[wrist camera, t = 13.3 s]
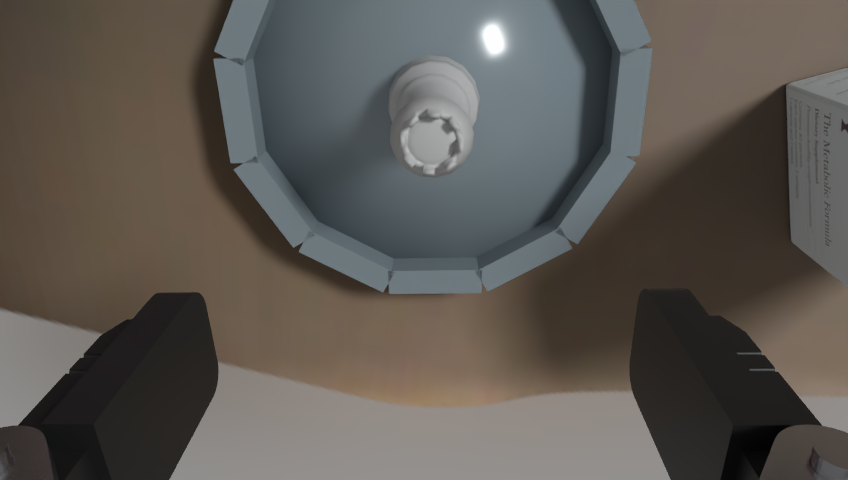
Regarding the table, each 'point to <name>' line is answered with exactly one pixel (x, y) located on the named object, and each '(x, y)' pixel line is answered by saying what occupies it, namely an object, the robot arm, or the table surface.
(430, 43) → the round tray
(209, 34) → the table surface
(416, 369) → the table surface
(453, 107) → the rook chess piece
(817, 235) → the supplement box
